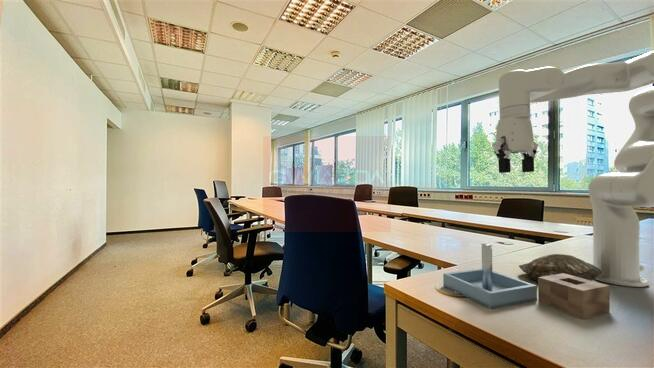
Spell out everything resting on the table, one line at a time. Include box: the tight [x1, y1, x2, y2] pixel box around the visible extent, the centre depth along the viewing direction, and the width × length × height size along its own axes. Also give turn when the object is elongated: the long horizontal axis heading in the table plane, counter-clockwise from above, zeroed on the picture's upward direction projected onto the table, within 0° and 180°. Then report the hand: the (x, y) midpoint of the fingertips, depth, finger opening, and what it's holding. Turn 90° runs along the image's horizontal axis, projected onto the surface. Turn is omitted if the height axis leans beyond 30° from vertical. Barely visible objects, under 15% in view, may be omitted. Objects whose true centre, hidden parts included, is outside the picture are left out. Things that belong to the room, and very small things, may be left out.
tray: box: [442, 268, 538, 309], centre depth 73 cm, size 15×15×4 cm
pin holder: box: [537, 273, 611, 320], centre depth 64 cm, size 9×9×6 cm
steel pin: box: [481, 243, 493, 291], centre depth 73 cm, size 2×2×12 cm
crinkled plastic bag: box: [518, 253, 602, 282], centre depth 82 cm, size 16×9×20 cm
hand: (516, 172), depth 82 cm, fingers open, 9 cm apart
